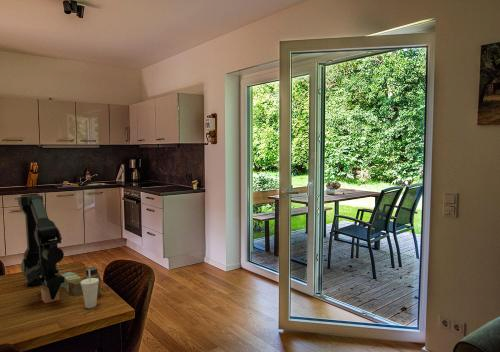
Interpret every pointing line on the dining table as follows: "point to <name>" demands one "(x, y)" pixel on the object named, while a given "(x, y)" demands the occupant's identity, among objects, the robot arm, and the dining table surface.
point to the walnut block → (75, 287)
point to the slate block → (67, 276)
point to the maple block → (70, 278)
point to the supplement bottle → (93, 275)
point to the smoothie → (90, 291)
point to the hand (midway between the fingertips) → (50, 296)
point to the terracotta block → (48, 295)
